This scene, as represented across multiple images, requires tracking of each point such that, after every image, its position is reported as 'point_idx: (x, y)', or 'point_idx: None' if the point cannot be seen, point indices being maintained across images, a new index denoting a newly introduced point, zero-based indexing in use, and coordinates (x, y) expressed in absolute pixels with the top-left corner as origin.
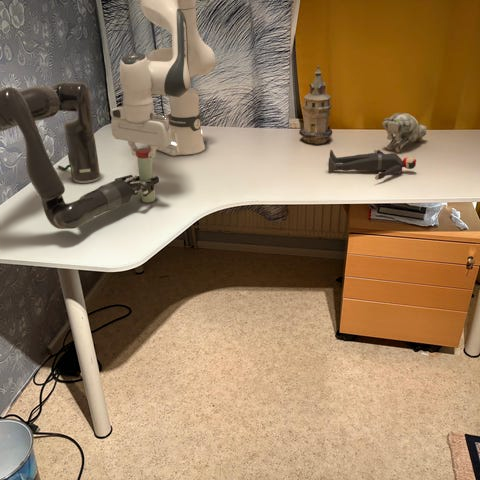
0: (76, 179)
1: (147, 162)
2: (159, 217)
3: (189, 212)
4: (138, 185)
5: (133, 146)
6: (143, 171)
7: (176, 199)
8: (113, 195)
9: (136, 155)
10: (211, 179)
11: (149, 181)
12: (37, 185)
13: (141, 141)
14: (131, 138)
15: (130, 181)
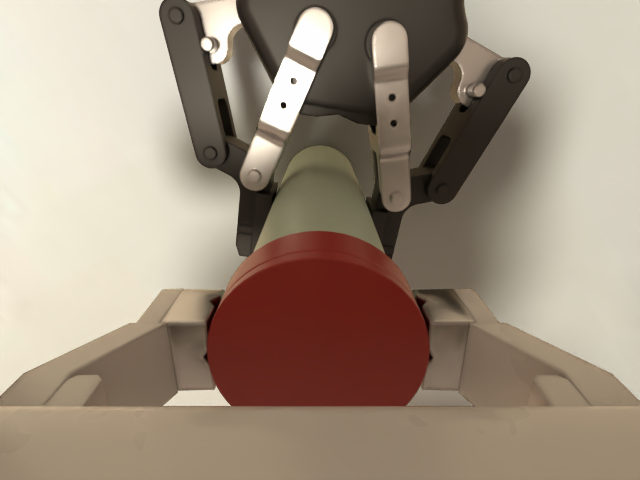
0: None
1: None
2: (121, 17)
3: (37, 149)
4: (268, 56)
5: (503, 379)
6: (297, 195)
7: (198, 244)
8: None
9: (373, 249)
10: None
11: (242, 165)
12: None
13: (215, 440)
14: (575, 474)
15: (372, 85)
